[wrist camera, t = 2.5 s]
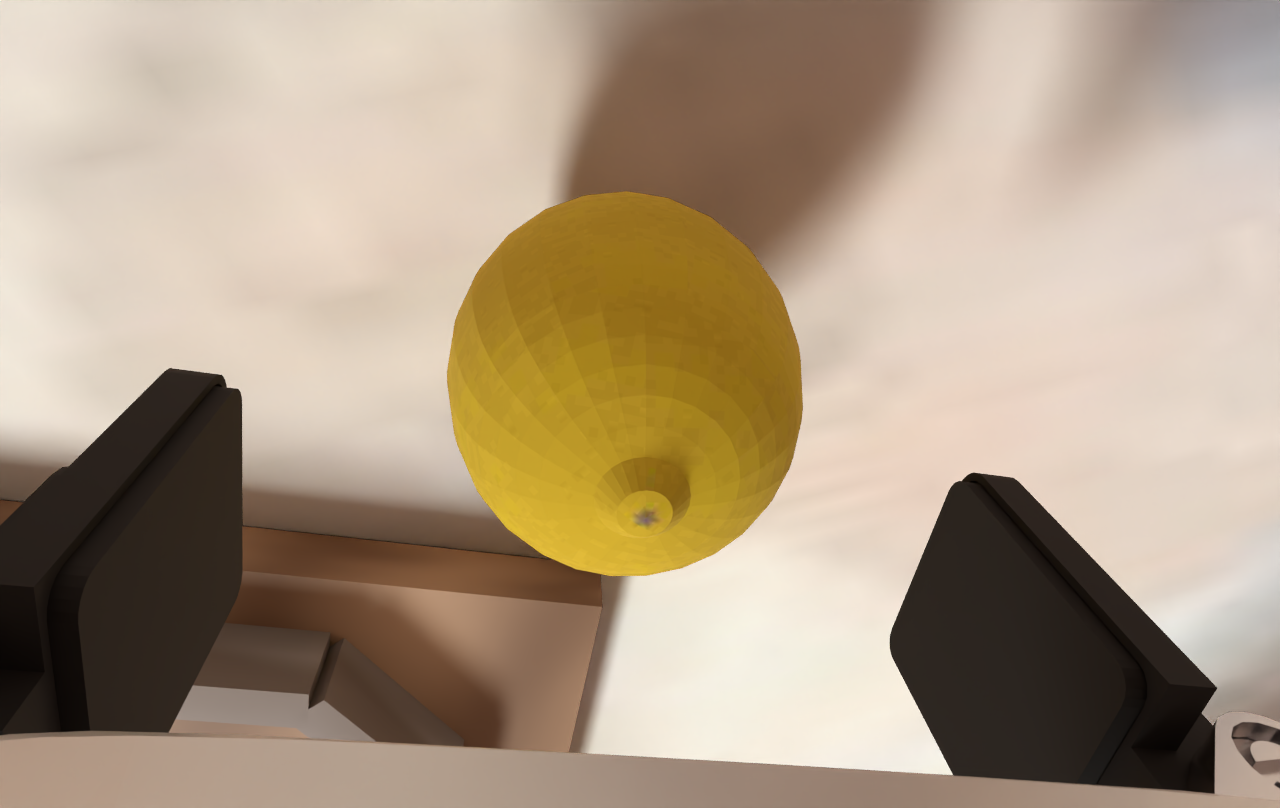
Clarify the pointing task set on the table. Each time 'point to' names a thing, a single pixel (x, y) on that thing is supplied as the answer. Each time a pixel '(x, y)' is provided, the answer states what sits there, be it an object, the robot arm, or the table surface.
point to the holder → (396, 645)
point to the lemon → (625, 384)
